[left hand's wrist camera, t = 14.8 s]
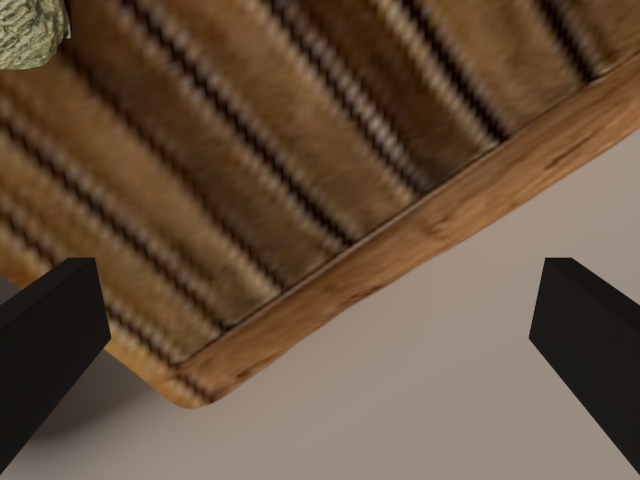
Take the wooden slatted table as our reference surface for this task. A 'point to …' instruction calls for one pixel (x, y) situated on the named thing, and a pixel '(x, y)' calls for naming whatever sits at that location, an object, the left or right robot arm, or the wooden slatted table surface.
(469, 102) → the wooden slatted table surface
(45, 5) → the fossil
